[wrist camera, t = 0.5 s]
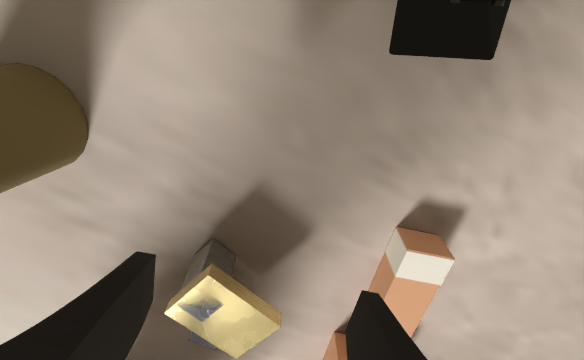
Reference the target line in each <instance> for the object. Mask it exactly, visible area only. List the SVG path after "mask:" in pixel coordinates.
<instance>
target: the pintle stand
mask: <svg viewBox="0 0 584 360" xmlns="http://www.w3.org/2000/svg"><path fill="white" fill-rule="evenodd" d="M235 257H236V255H235V254H233V253H232V252H231V251H230V250H228V249H227V248H226V247H224V246H223V245H222V244H220V243H219V242H218V241H216V240H215V239H214V238H213V239H212V240H211V241H210V242H208V243H207V244H206V245H205V246H204V247H203V248H202V249H201V250H200V251H199V252H197V253H196V254H195V255H194V258H193V260H192V263H191V265H190V267H189V270H188V272H187V275H186V277H185V280H184V282H183V285H182V287H181V290H180V292H179V293H177V294H176V295H175V296H174V297H173V298H172V299H170V300H169V303H168V305H167V307H166V310H165V312H164V314H166V315H167V316H169V317H170V318H172V319H174V320H175V321H177V322H178V323H180V324H181V325H183V326H185V327H186V328H188V329H189V330H191V332H190V336H189V339H188V340H189V341H192V342H195V343H198V344H201V345H203V346H206V347H209V348H212V349H216V348H217V347H218V348H219V349H221V350H222V351H224V352H226V353H227V354H229V355H230V356H232V357H233V358H235V359H237V358H238V357H240V356H241V355H242V354H244V353H245V352H247V351H248V350H249V349H251V348H252V347H254V346H255V345H256V344H258V343H259V342H261V341H262V340H263V339H265V338H266V337H268V336H269V335H270V334H272V333H273V332H275V331H276V330H277V329H279V328H280V327H281V313H280V312H278V311H277V310H276V309H274V308H273V307H271V306H270V305H269V304H267V303H266V302H265V301H263V300H262V299H261V298H259V297H258V296H256V295H255V294H254V293H252V292H251V291H250V290H248V289H247V288H245V287H244V286H243V285H241V284H240V283H239V282H237V281H236V280H234V279H233V278H232V277H231V275H232V270H233V266H234V262H235Z"/></svg>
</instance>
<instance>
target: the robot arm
mask: <svg viewBox="0 0 584 360" xmlns="http://www.w3.org/2000/svg"><path fill="white" fill-rule="evenodd" d="M155 259H156V255H154V254H149V253H143V252H136V253H134V254H133V255H131V256H130V257H129V258H128V259H126V260H125V261H124V262H123V263H122V264H120V265H119V266H118V267H117V268H115V269H114V270H113V271H112V272H110V273H109V274H108V275H107V276H105V277H104V278H103V279H101V280H100V281H99V282H97V283H96V284H95V285H93V286H92V287H91V288H89V289H88V290H87V291H85V292H84V293H83V294H81V295H80V296H78V297H77V298H76V299H74V300H73V301H71V302H70V303H68V304H67V305H65V306H64V307H62V308H61V309H59V310H58V311H56V312H55V313H54V314H52V315H50V316H49V317H47V318H46V319H44V320H43V321H41V322H39V323H38V324H36V325H35V326H33V327H31V328H30V329H28V330H26V331H24V332H23V333H21V334H19V335H18V336H16V337H14V338H12V339H11V340H9V341H7V342H5V343H3V344H1V345H0V360H125V359H126V357H127V355H128V353H129V351H130V349H131V347H132V346H133V344H134V342H135V340H136V338H137V336H138V334H139V332H140V330H141V328H142V326H143V323H144V321H145V319H146V316H147V314H148V311H149V308H150V306H151V303H152V301H153V290H154V274H155ZM345 332H346V350H347V360H427V359H426V357H425V356H424V355H423V354H422V352H421V351H420V350H419V348H418V347H417V346H416V344H415V343H414V342H413V340H412V339H411V338H410V336H409V335H408V334H407V332H406V331H405V330H404V328H403V327H402V326H401V324H400V323H399V321H398V320H397V318H396V317H395V316H394V314H393V313H392V311H391V310H390V309H389V307H388V306H387V304H386V303H385V302H384V300H383V299H382V297H381V296H380V295H379V293H375V292H369V291H363V290H362V291H361V294H360V296H359V299H358V301H357V304H356V306H355V309H354V311H353V313H352V316H351V318H350V321H349V323H348V326H347V328H346V330H345Z"/></svg>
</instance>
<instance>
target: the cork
mask: <svg viewBox="0 0 584 360" xmlns="http://www.w3.org/2000/svg"><path fill="white" fill-rule="evenodd" d="M87 140H88V125H87V120H86V118H85V115H84V112H83V109H82V107H81V105H80V104H79V102H78V101H77V99H76V98H75V97H74V95H73V94H72V92H71V91H70V90H69V89H68V88H67V87H66V86H65V85H63V84H62V83H61V82H60V81H59V80H58V79H57V78H55V77H54V76H52V75H50V74H48V73H46V72H44V71H42V70H40V69H39V68H37V67H32V66H28V65H23V64H18V63H16V64H6V65H0V193H2V192H4V191H6V190H9V189H11V188H14V187H16V186H18V185H21V184H23V183H25V182H28V181H30V180H33V179H35V178H37V177H40V176H42V175H44V174H47V173H49V172H51V171H54V170H56V169H59V168H61V167H63V166H65V165H68V164H70V163H72V162H74V161H75V160H76V159H77V158H78V157H79V156H80V155H81V154H82V153H83V151H84V148H85V146H86V143H87Z"/></svg>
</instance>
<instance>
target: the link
mask: <svg viewBox="0 0 584 360" xmlns="http://www.w3.org/2000/svg"><path fill="white" fill-rule="evenodd" d="M454 259H455V258H454V257H453V255H452V254H451V252H450V251H449V249H448V248H447V246H446V245H445V243H444V242H443V240H442V239H441V237H440V236H439V235H434V234H430V233H425V232H420V231H415V230H410V229H405V228H401V227H396V228H395V231H394V233H393V235H392V238H391V240H390V242H389V244H388V247H387V249H386V251H385V254H384V256H383V259H382V261H381V263H380V265H379V268H378V270H377V272H376V274H375V277H374V279H373V281H372V284H371V286H370V288H369V290H368V291H369V292H375V293H379V295H380V296H381V297H382V299H383V300H384V302H385V303H386V304H387V306H388V307H389V309H390V310H391V311H392V313H393V314H394V316H395V317H396V318H397V320H398V321H399V323H400V324H401V326H402V327H403V328H404V330H405V331H406V332H407V334H408V335H409V336H410V338H411V337H412V335H413V333H414V331H415V329H416V328H417V326H418V324H419V322H420V320H421V319H422V317H423V315H424V313H425V311H426V310H427V308H428V306H429V304H430V302H431V301H432V299H433V297H434V295H435V293H436V292H437V290H438V288H439V286H440V285H441V284H442V282H443V281H444V279H445V277H446V275H447V273H448V272H449V270H450V268H451V266H452V264H453V263H454V261H455V260H454ZM323 360H347V350H346V334H343V333H337V332H334V334H333V336H332V339H331V341H330V343H329V346H328V348H327V351H326V353H325V356H324V358H323Z"/></svg>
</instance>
